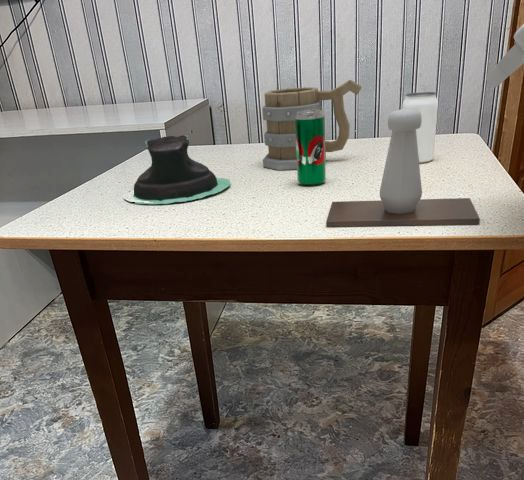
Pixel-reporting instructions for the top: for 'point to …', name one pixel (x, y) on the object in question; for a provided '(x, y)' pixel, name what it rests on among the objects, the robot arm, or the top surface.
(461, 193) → the top surface
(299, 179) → the soda can
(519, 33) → the robot arm
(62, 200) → the top surface
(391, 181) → the salt shaker
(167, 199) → the dark flared mound
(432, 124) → the can
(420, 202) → the dark brown board
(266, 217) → the top surface
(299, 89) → the tankard
